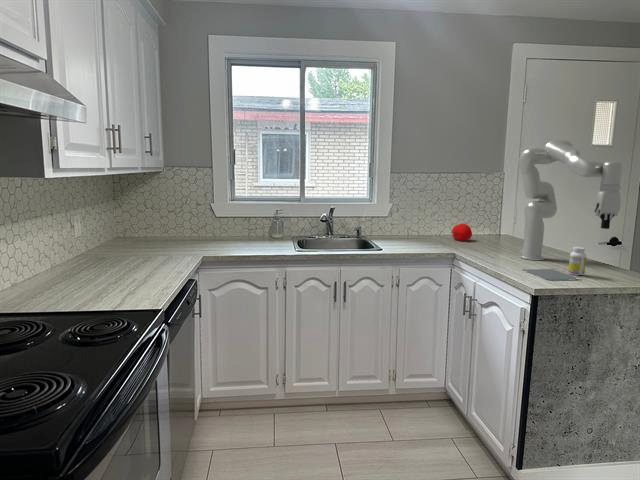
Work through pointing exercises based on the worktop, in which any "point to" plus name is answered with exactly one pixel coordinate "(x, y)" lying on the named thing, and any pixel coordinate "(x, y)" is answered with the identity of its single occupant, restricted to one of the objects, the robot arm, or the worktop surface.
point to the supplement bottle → (577, 261)
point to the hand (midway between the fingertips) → (604, 228)
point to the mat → (550, 274)
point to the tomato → (461, 232)
